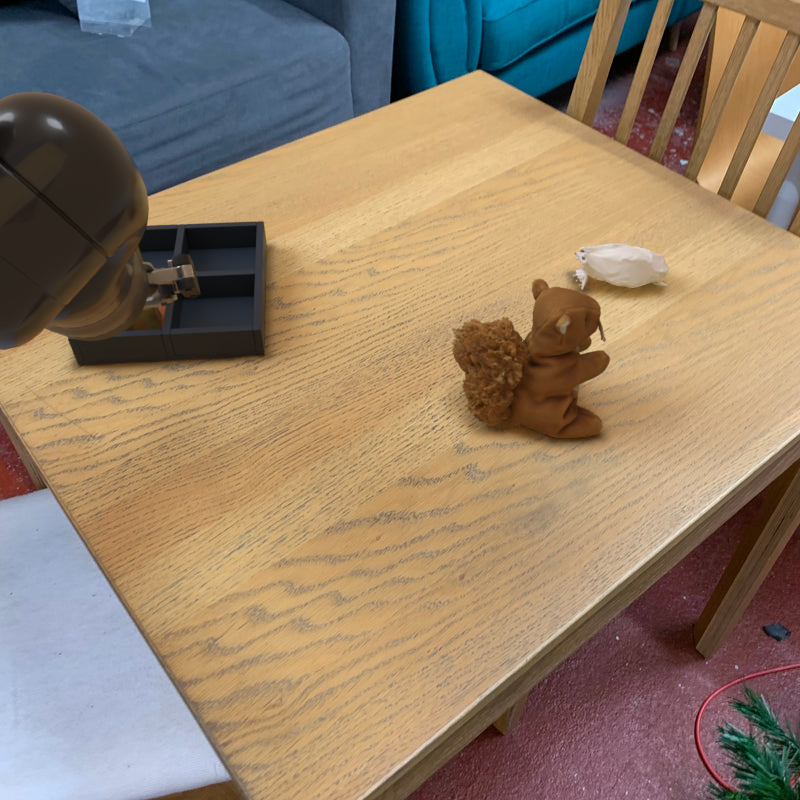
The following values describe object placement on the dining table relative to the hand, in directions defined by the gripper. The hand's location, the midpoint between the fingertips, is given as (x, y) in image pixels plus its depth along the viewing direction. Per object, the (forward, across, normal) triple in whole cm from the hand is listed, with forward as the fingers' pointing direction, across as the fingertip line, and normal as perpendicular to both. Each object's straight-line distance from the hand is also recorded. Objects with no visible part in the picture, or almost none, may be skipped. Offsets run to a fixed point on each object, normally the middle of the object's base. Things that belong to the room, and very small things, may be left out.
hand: (109, 302), depth 63 cm
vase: (+17, 0, +1) cm, 17 cm away
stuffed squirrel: (+2, -35, +17) cm, 38 cm away
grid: (+20, -6, -1) cm, 20 cm away
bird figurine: (+12, -53, +7) cm, 55 cm away
